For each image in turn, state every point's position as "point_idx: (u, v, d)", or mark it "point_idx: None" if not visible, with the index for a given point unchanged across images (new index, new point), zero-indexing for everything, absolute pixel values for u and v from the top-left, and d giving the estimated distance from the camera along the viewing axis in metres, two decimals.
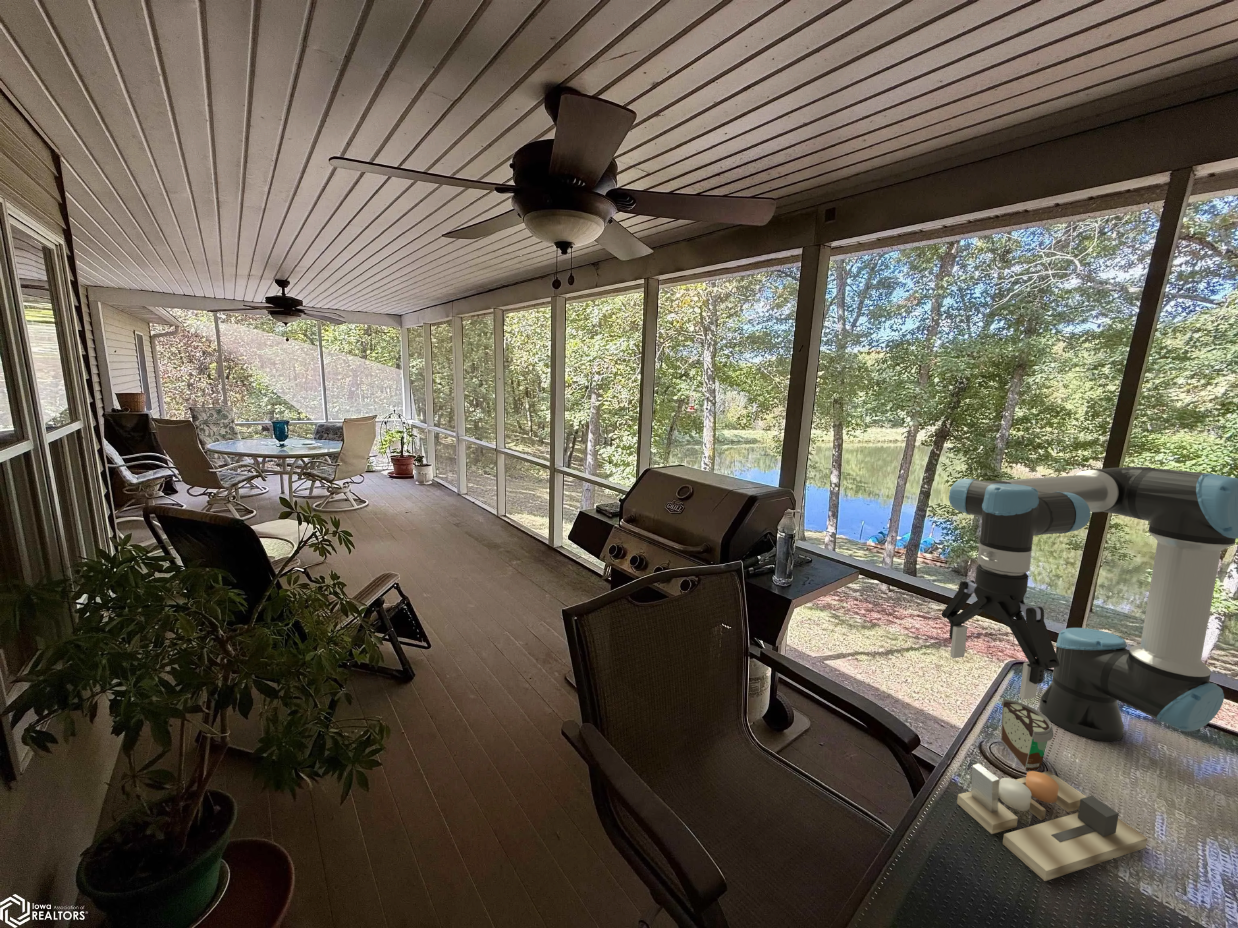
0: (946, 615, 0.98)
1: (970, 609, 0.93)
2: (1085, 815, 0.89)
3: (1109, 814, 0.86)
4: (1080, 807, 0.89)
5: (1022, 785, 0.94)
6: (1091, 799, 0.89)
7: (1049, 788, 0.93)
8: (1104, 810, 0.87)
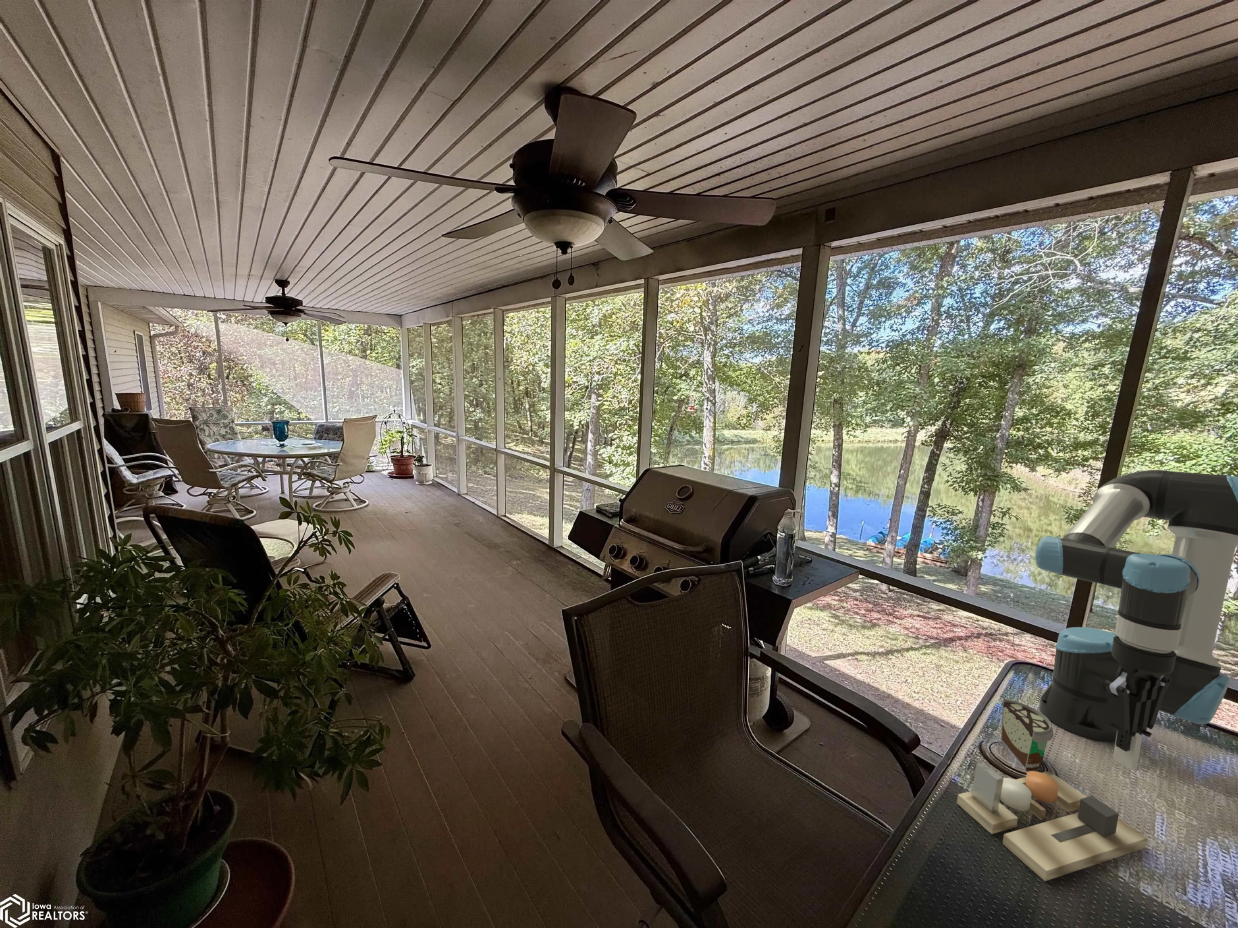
0: None
1: None
2: (1085, 815, 0.89)
3: (1109, 814, 0.86)
4: (1080, 807, 0.89)
5: (1022, 785, 0.94)
6: (1091, 799, 0.89)
7: (1049, 788, 0.93)
8: (1104, 810, 0.87)
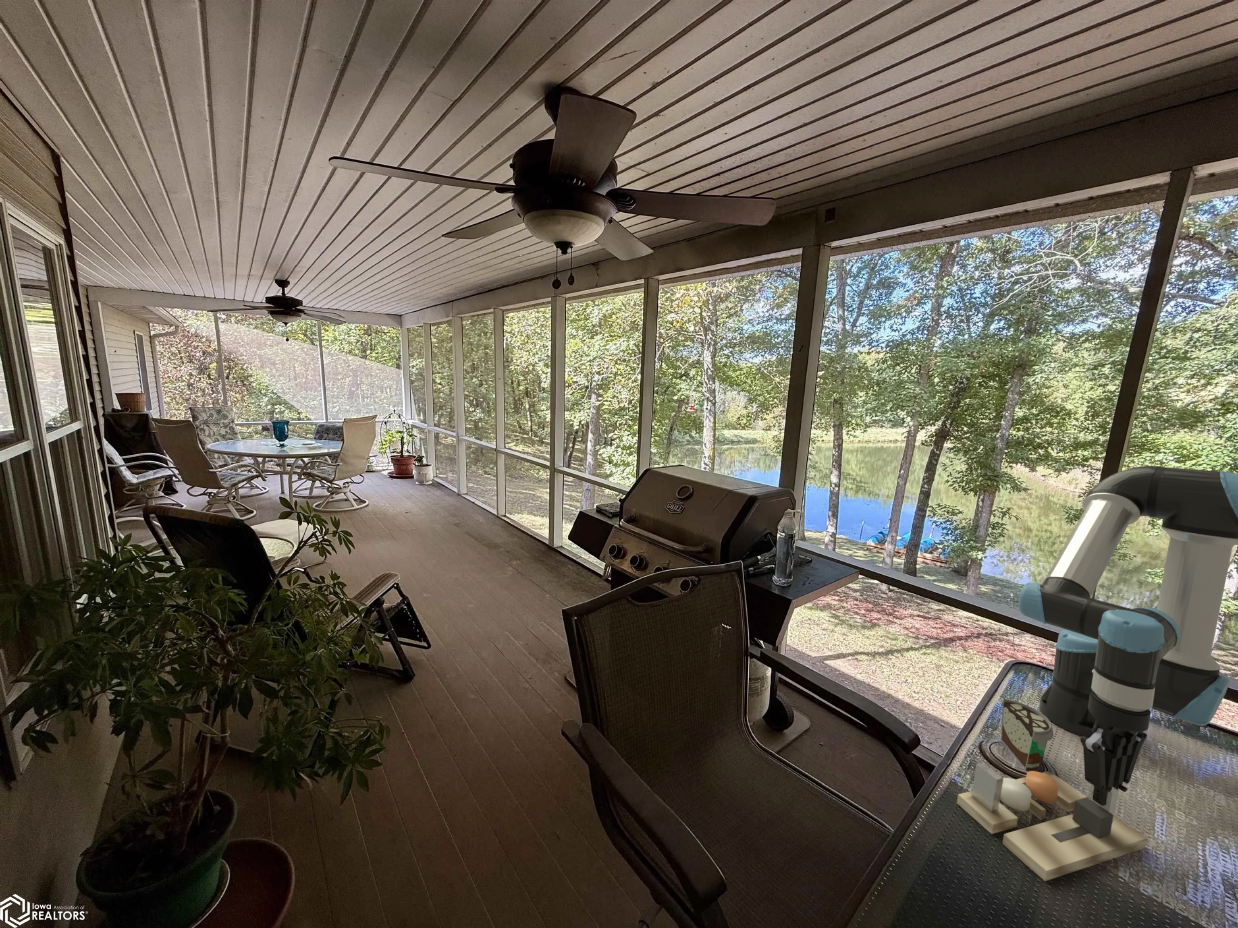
0: None
1: None
2: (1080, 817, 0.88)
3: (1103, 816, 0.86)
4: (1075, 809, 0.89)
5: (1022, 785, 0.94)
6: (1086, 801, 0.89)
7: (1049, 788, 0.93)
8: (1099, 811, 0.87)
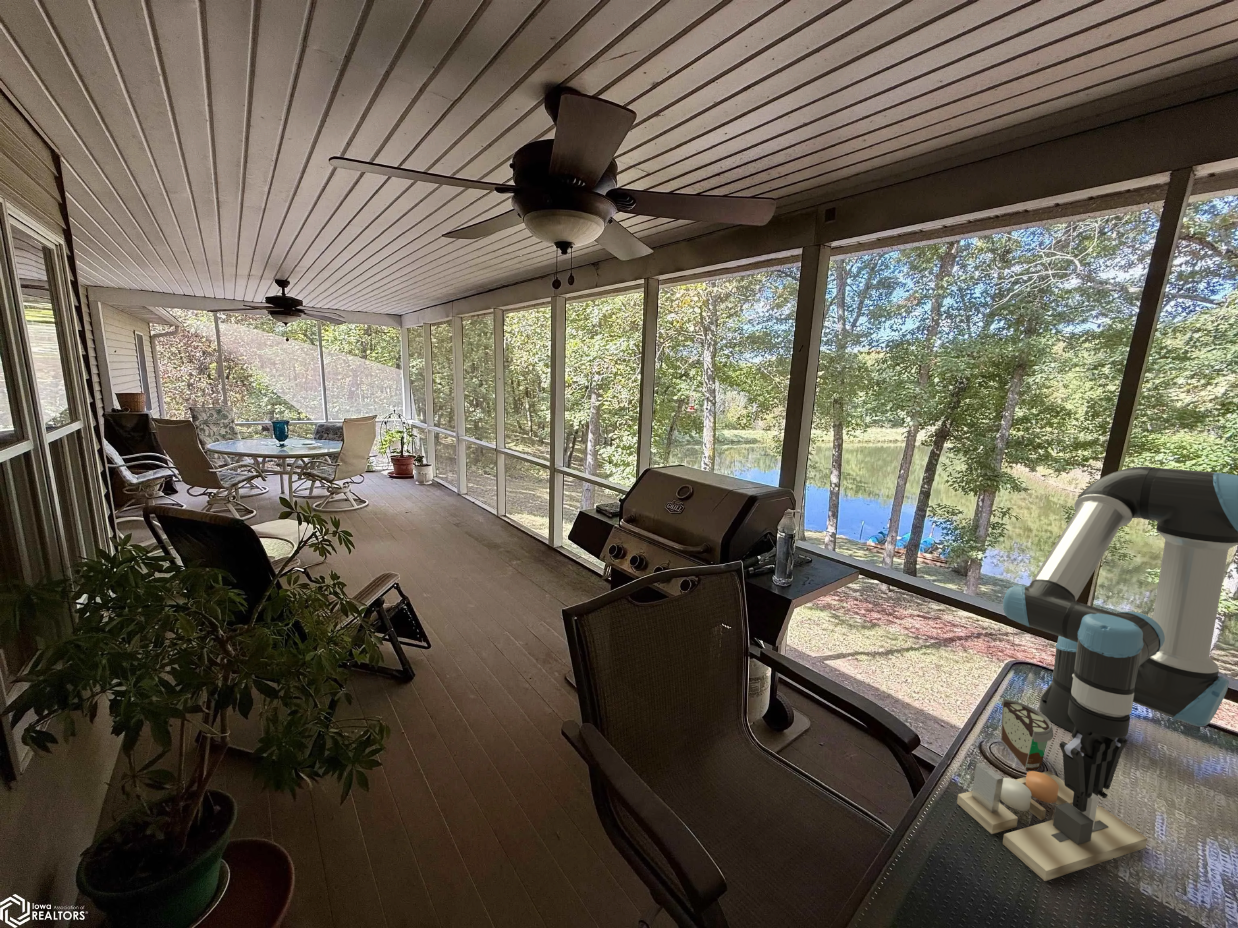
0: None
1: None
2: (1060, 823, 0.87)
3: (1084, 822, 0.84)
4: (1055, 814, 0.88)
5: (1022, 785, 0.94)
6: (1066, 806, 0.88)
7: (1049, 788, 0.93)
8: (1079, 817, 0.85)
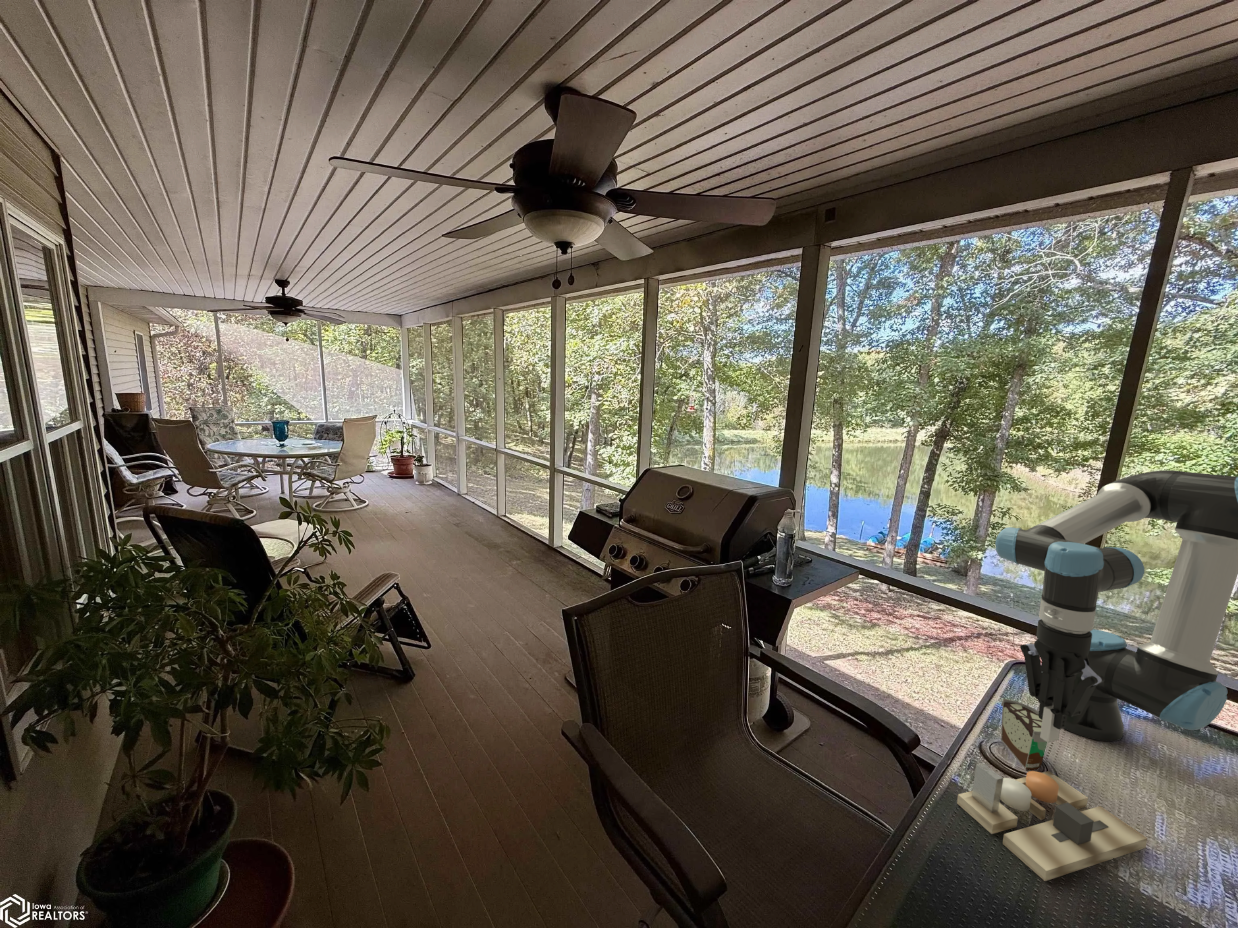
0: (1034, 692, 0.95)
1: (1045, 675, 0.93)
2: (1060, 823, 0.87)
3: (1084, 822, 0.84)
4: (1055, 814, 0.88)
5: (1022, 785, 0.94)
6: (1066, 806, 0.88)
7: (1049, 788, 0.93)
8: (1079, 817, 0.85)
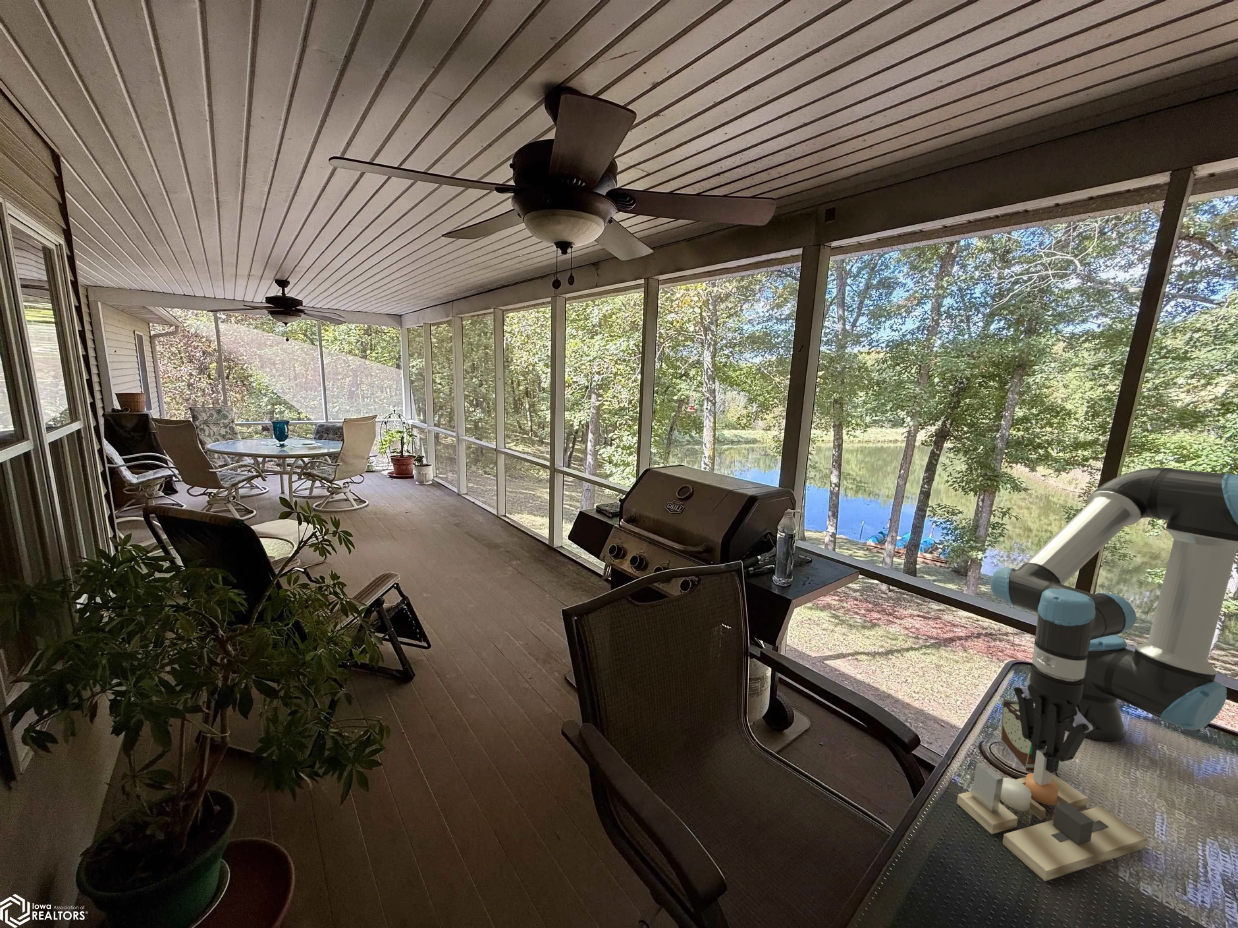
0: (1027, 735, 0.96)
1: (1038, 719, 0.94)
2: (1060, 823, 0.87)
3: (1084, 822, 0.84)
4: (1055, 814, 0.88)
5: (1022, 785, 0.94)
6: (1066, 806, 0.88)
7: (1048, 790, 0.93)
8: (1079, 817, 0.85)
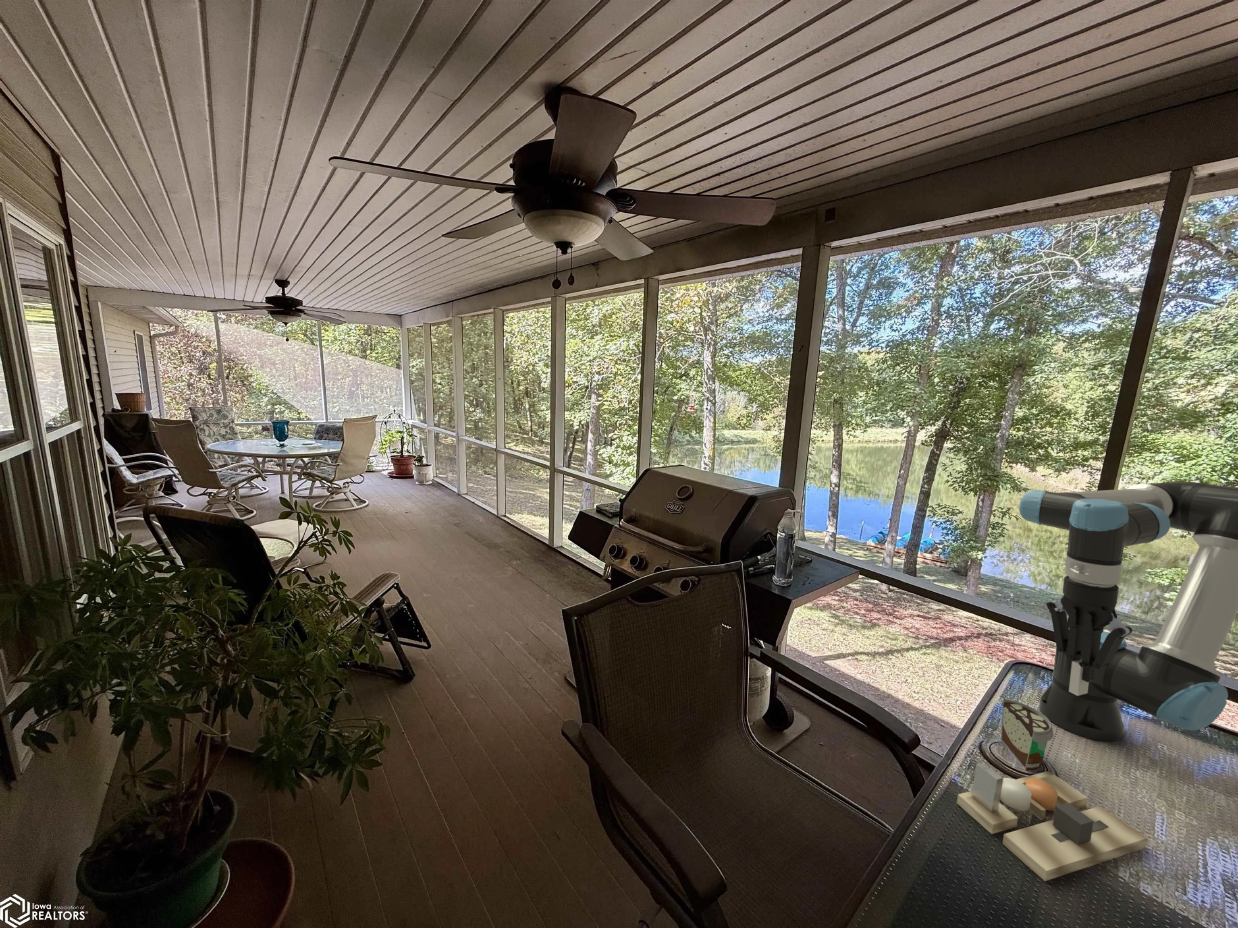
0: (1061, 647, 0.97)
1: (1072, 630, 0.95)
2: (1060, 823, 0.87)
3: (1084, 822, 0.84)
4: (1055, 814, 0.88)
5: (1022, 785, 0.94)
6: (1066, 806, 0.88)
7: (1048, 795, 0.93)
8: (1079, 817, 0.85)
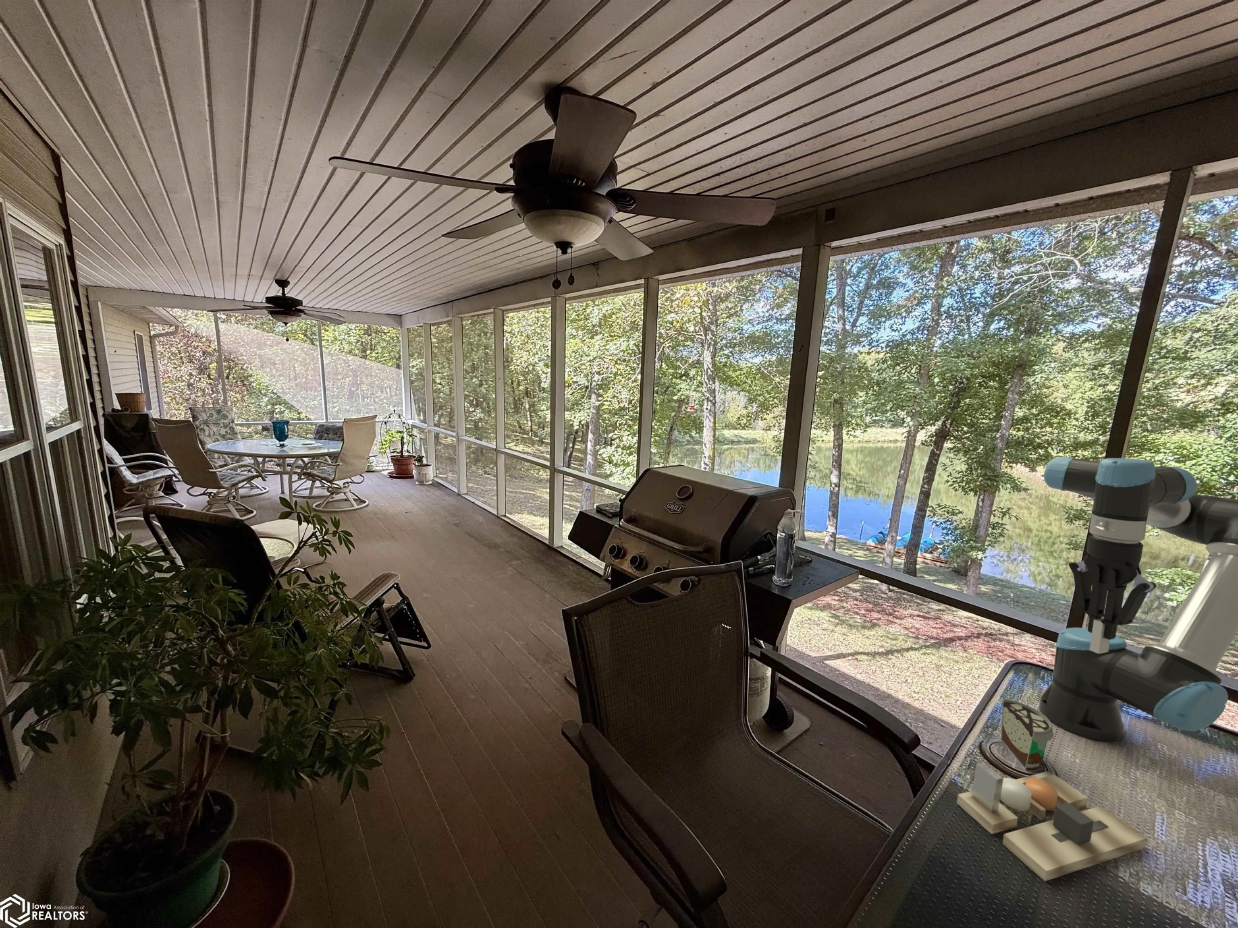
0: (1083, 607, 0.98)
1: (1095, 588, 0.96)
2: (1060, 823, 0.87)
3: (1084, 822, 0.84)
4: (1055, 814, 0.88)
5: (1022, 785, 0.94)
6: (1066, 806, 0.88)
7: (1048, 795, 0.93)
8: (1079, 817, 0.85)
